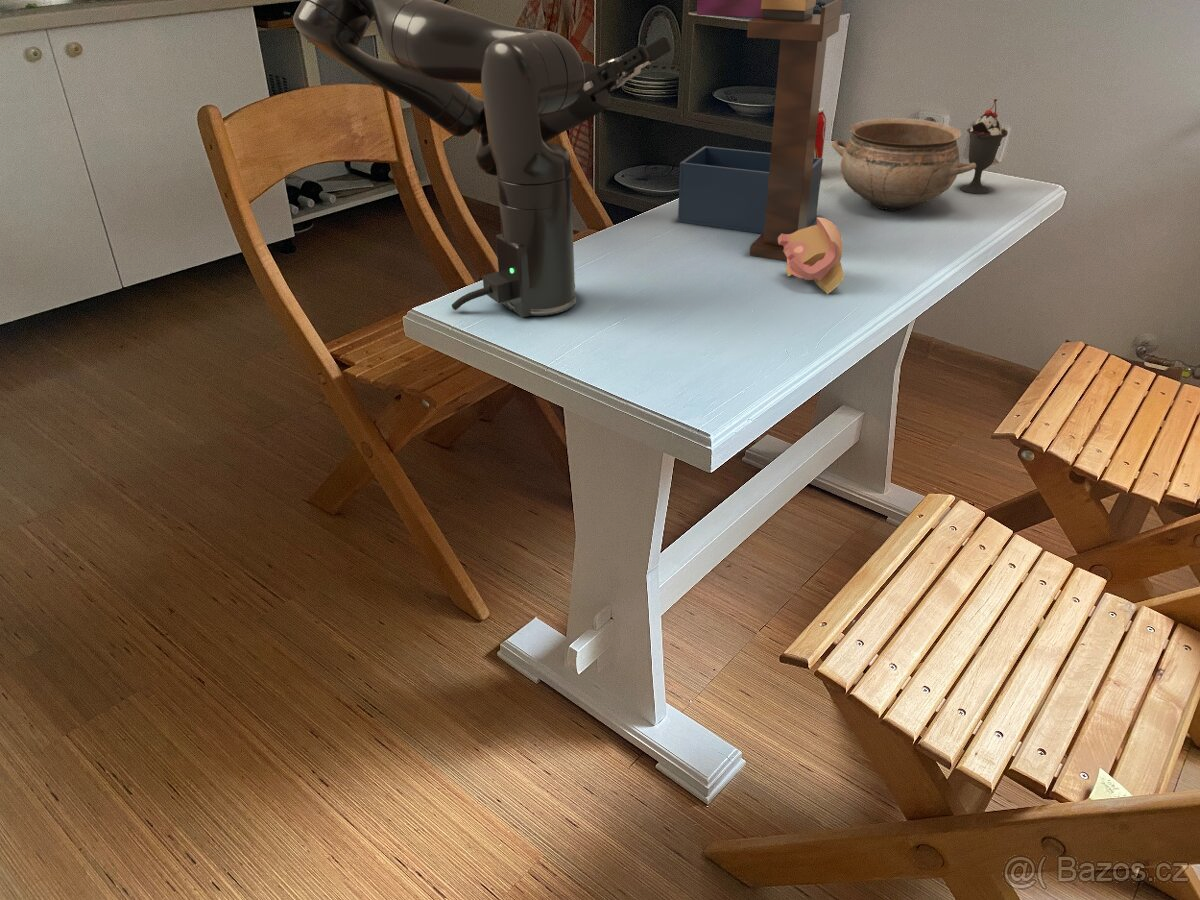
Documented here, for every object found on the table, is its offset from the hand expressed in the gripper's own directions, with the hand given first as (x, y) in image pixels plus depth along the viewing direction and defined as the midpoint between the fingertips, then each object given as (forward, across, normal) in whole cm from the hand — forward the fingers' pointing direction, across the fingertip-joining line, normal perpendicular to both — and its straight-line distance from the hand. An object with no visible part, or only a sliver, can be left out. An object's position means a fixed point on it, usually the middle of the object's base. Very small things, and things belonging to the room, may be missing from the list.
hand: (657, 46), depth 129 cm
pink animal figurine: (+11, +11, -38) cm, 41 cm away
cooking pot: (+14, -29, -40) cm, 51 cm away
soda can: (-3, -40, -30) cm, 50 cm away
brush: (+15, 0, -3) cm, 15 cm away
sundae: (+24, -43, -46) cm, 67 cm away
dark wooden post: (+3, 0, -34) cm, 34 cm away
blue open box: (-4, -12, -30) cm, 32 cm away
